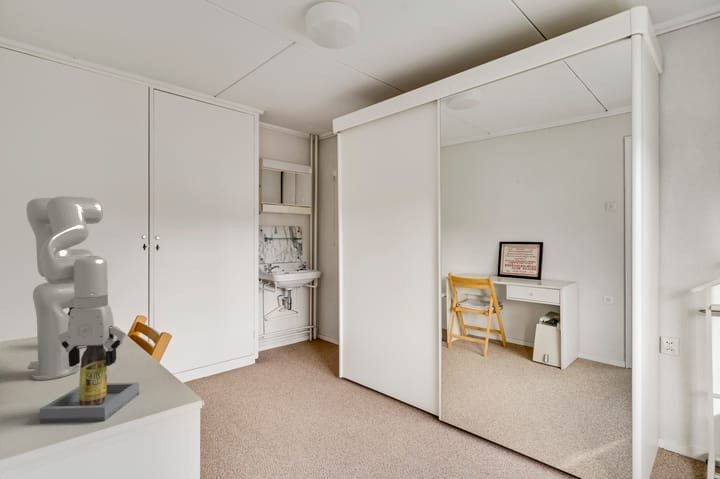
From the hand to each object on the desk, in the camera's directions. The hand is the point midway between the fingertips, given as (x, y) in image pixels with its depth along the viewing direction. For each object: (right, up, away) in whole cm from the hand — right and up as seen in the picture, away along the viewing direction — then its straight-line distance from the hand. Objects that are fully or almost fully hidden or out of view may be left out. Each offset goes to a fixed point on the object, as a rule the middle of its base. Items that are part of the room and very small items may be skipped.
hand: (92, 364), depth 103 cm
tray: (0, -12, 0) cm, 12 cm away
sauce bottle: (0, -11, 0) cm, 11 cm away
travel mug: (-46, -12, +57) cm, 75 cm away
